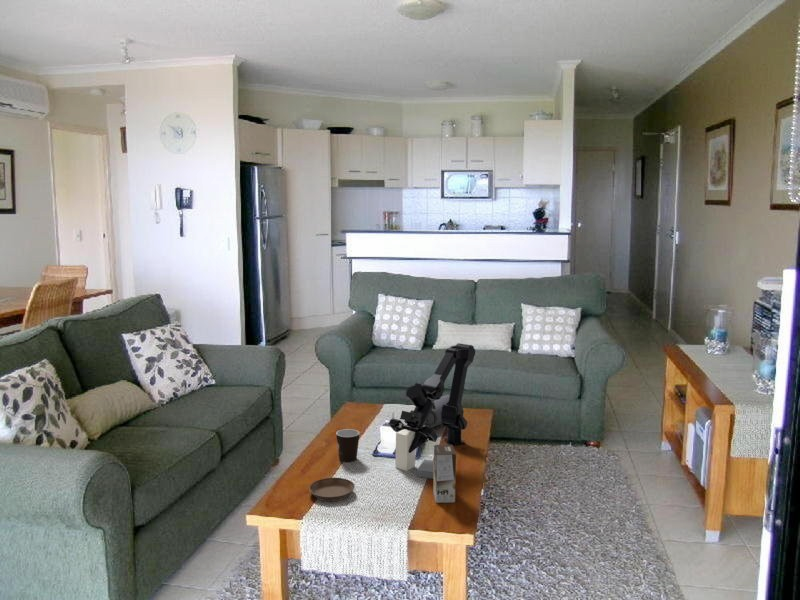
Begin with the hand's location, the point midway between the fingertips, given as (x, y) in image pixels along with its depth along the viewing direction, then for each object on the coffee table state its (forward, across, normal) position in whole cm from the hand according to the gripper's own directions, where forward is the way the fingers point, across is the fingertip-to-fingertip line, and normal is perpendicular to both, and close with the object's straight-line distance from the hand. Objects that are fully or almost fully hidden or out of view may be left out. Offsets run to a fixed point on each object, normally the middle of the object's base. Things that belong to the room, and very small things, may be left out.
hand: (402, 450), depth 243 cm
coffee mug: (+8, -22, +2) cm, 23 cm away
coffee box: (+12, +24, -3) cm, 28 cm away
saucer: (+27, -6, -17) cm, 33 cm away
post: (+4, 0, +6) cm, 7 cm away
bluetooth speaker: (-31, -18, +41) cm, 54 cm away
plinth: (+2, +11, +7) cm, 14 cm away
